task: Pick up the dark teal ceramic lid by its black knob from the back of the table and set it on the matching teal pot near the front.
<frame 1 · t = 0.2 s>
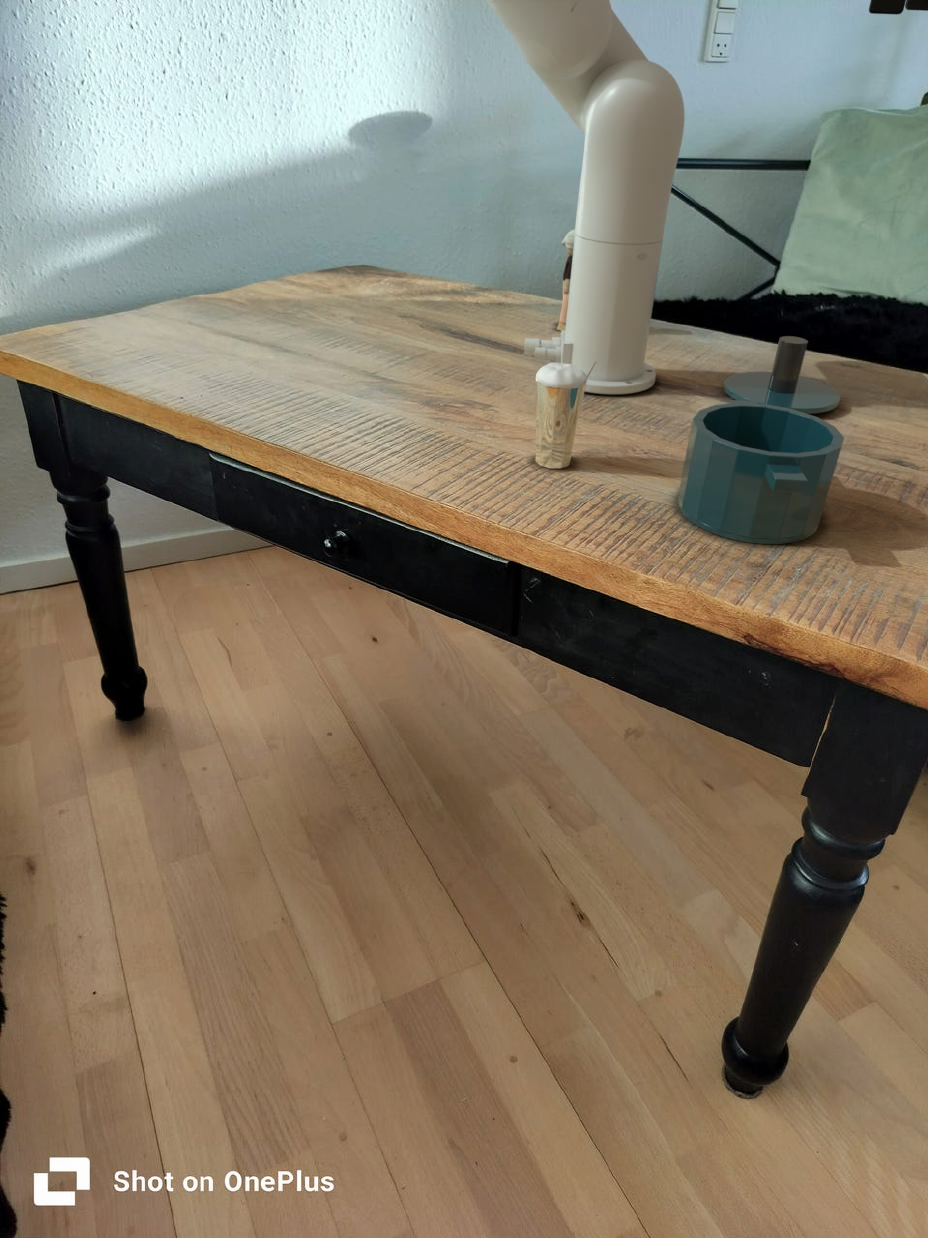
hand: (903, 11, 81), 36 cm above the table, tool pointing down, fingers open, 9 cm apart
milkshake: (556, 465, 81), on the table
pot: (747, 511, 74), on the table
grandmother figurine: (567, 328, 121), on the table
lid: (780, 394, 98), point 1 cm above the table
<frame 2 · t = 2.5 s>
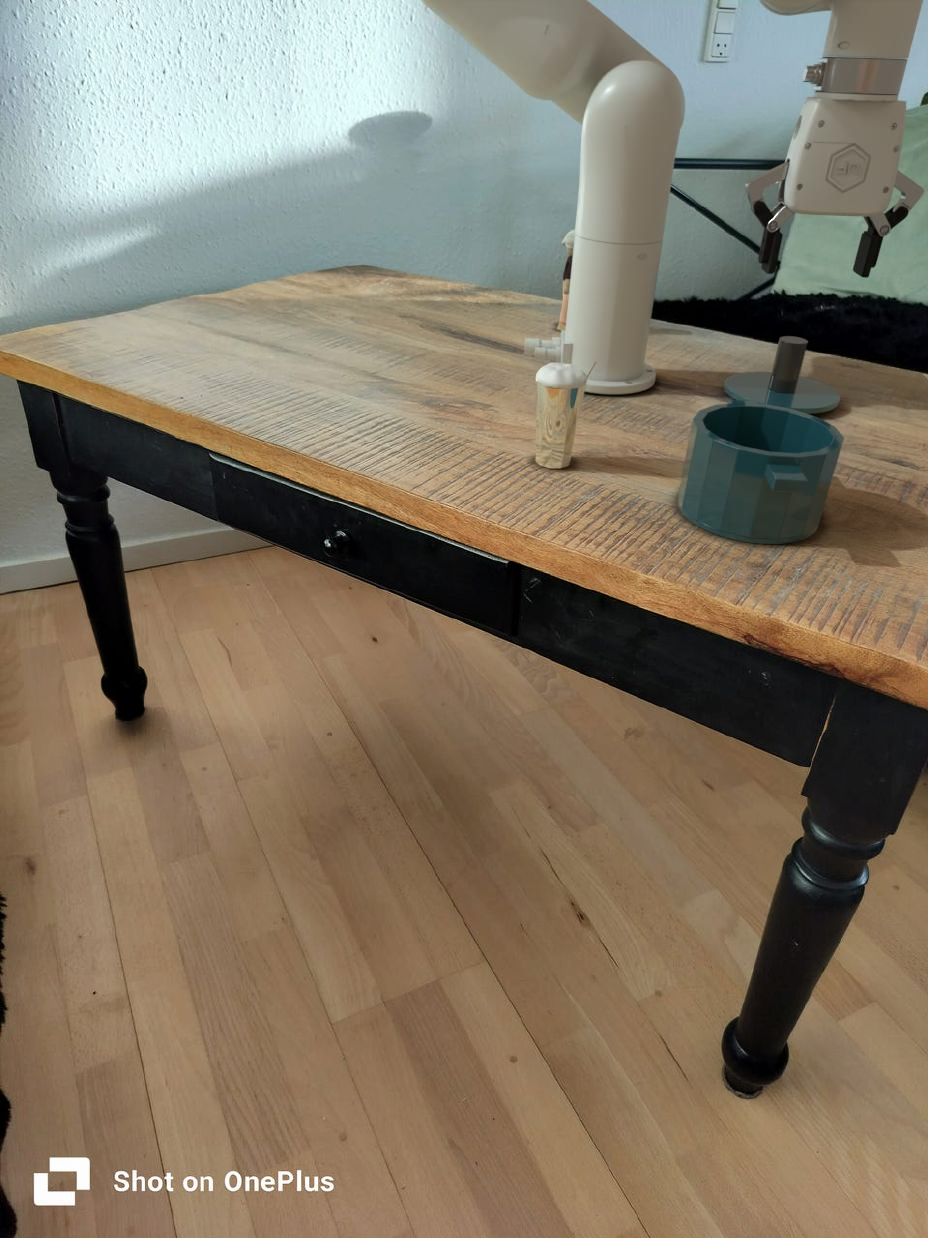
hand: (813, 272, 91), 14 cm above the table, tool pointing down, fingers open, 9 cm apart
nothing on the table moved.
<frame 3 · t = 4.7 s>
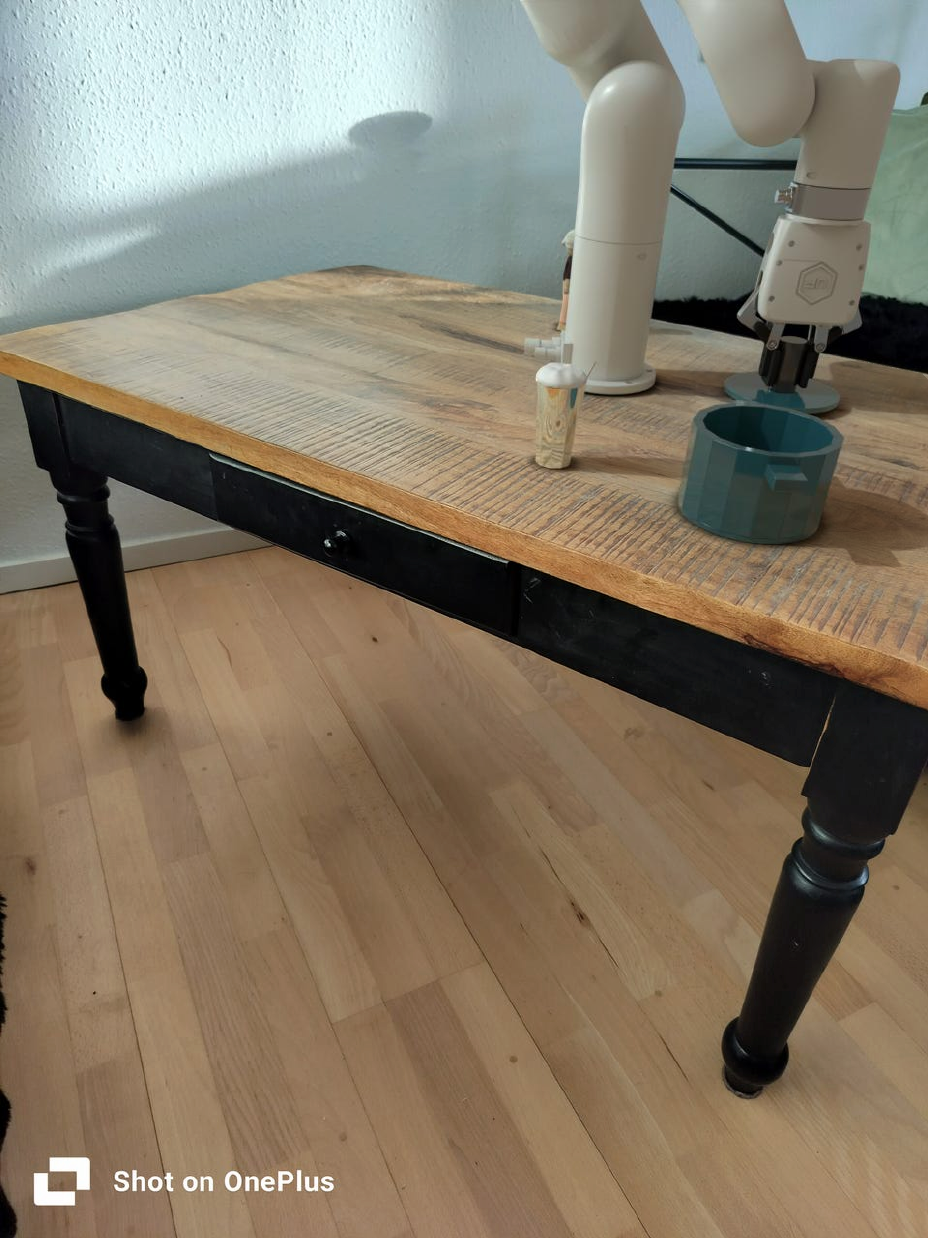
hand: (783, 381, 97), 2 cm above the table, tool pointing down, fingers closed on lid, 3 cm apart
lid: (780, 394, 98), point 1 cm above the table, touching gripper
everything else where it was.
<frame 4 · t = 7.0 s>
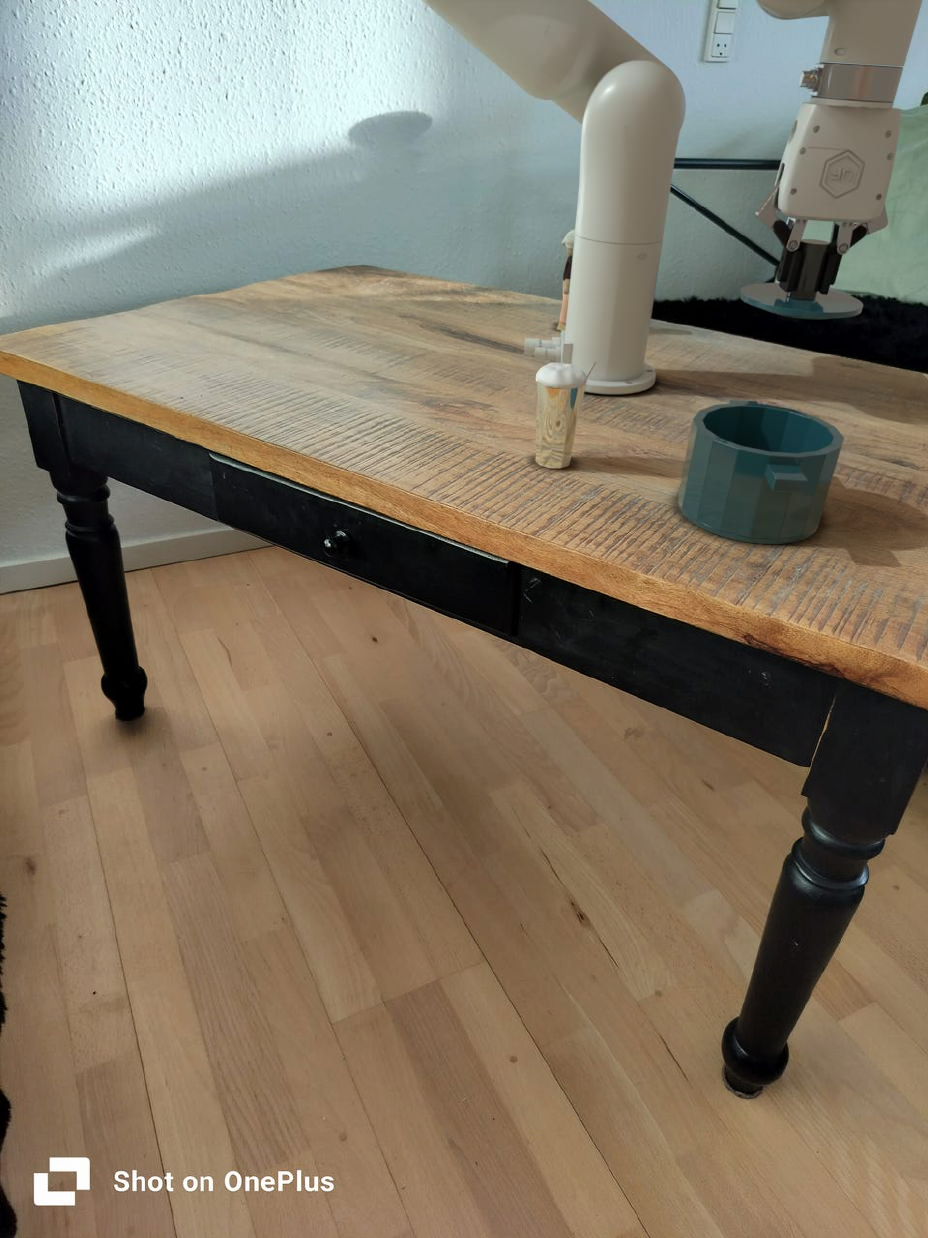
hand: (803, 288, 92), 12 cm above the table, tool pointing down, fingers closed on lid, 3 cm apart
lid: (799, 302, 93), point 11 cm above the table, touching gripper
everything else where it was.
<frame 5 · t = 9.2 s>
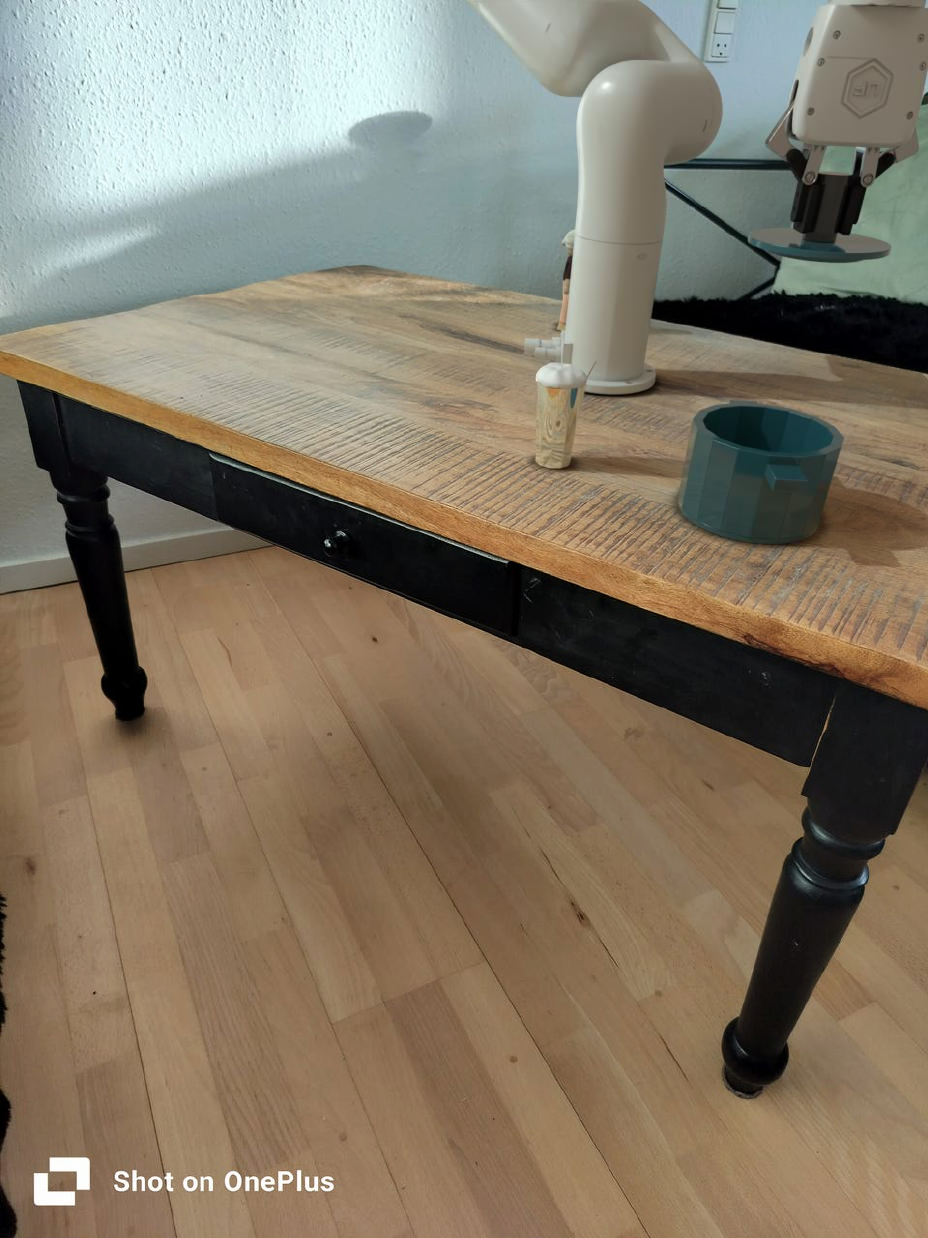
hand: (821, 229, 80), 19 cm above the table, tool pointing down, fingers closed on lid, 3 cm apart
lid: (817, 246, 81), point 18 cm above the table, touching gripper
everything else where it was.
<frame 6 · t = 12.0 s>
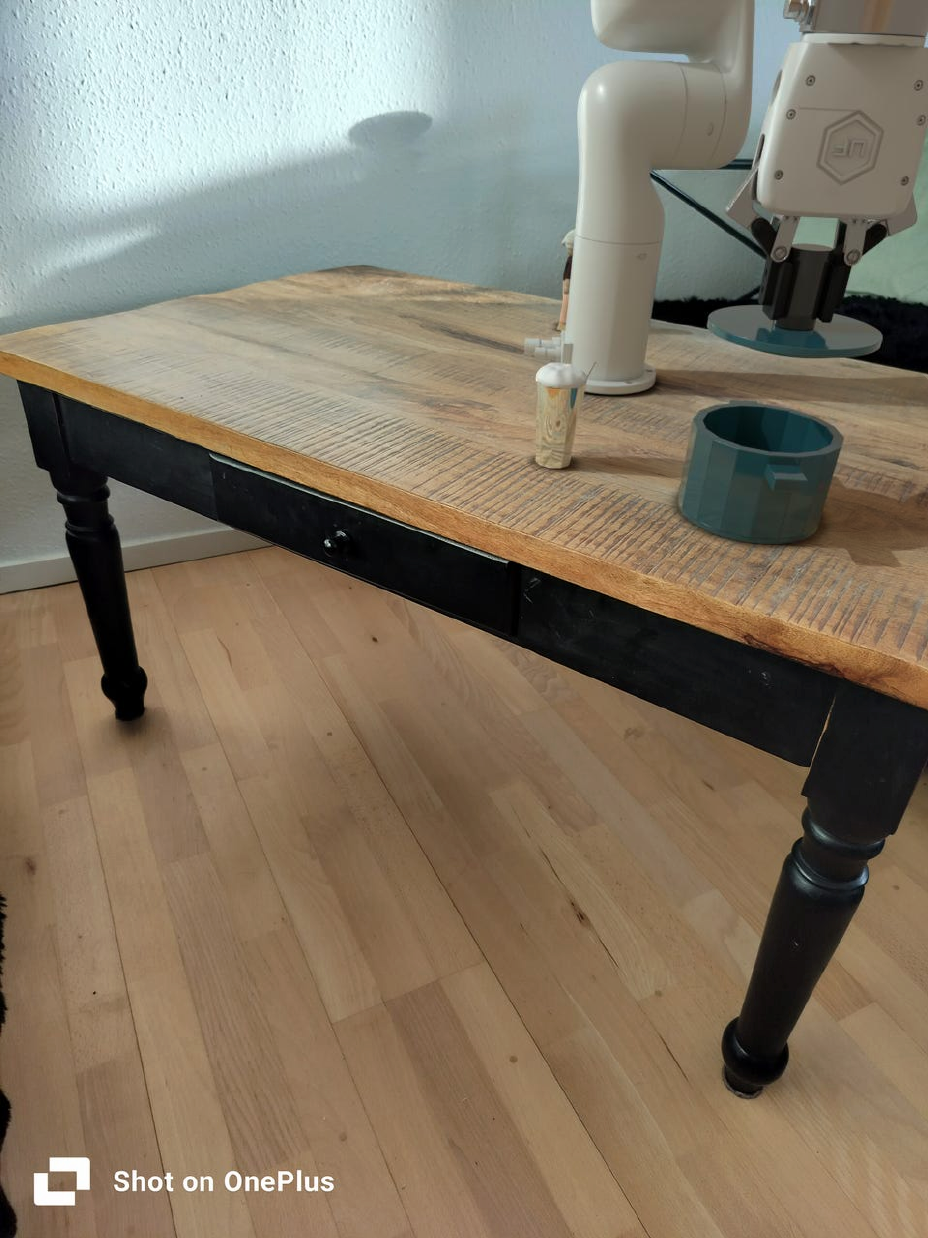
hand: (796, 314, 65), 16 cm above the table, tool pointing down, fingers closed on lid, 3 cm apart
lid: (791, 333, 65), point 15 cm above the table, touching gripper
everything else where it was.
when the fingers open (9 cm above the table, at t = 14.0 s): lid stays where it is, resting on pot.
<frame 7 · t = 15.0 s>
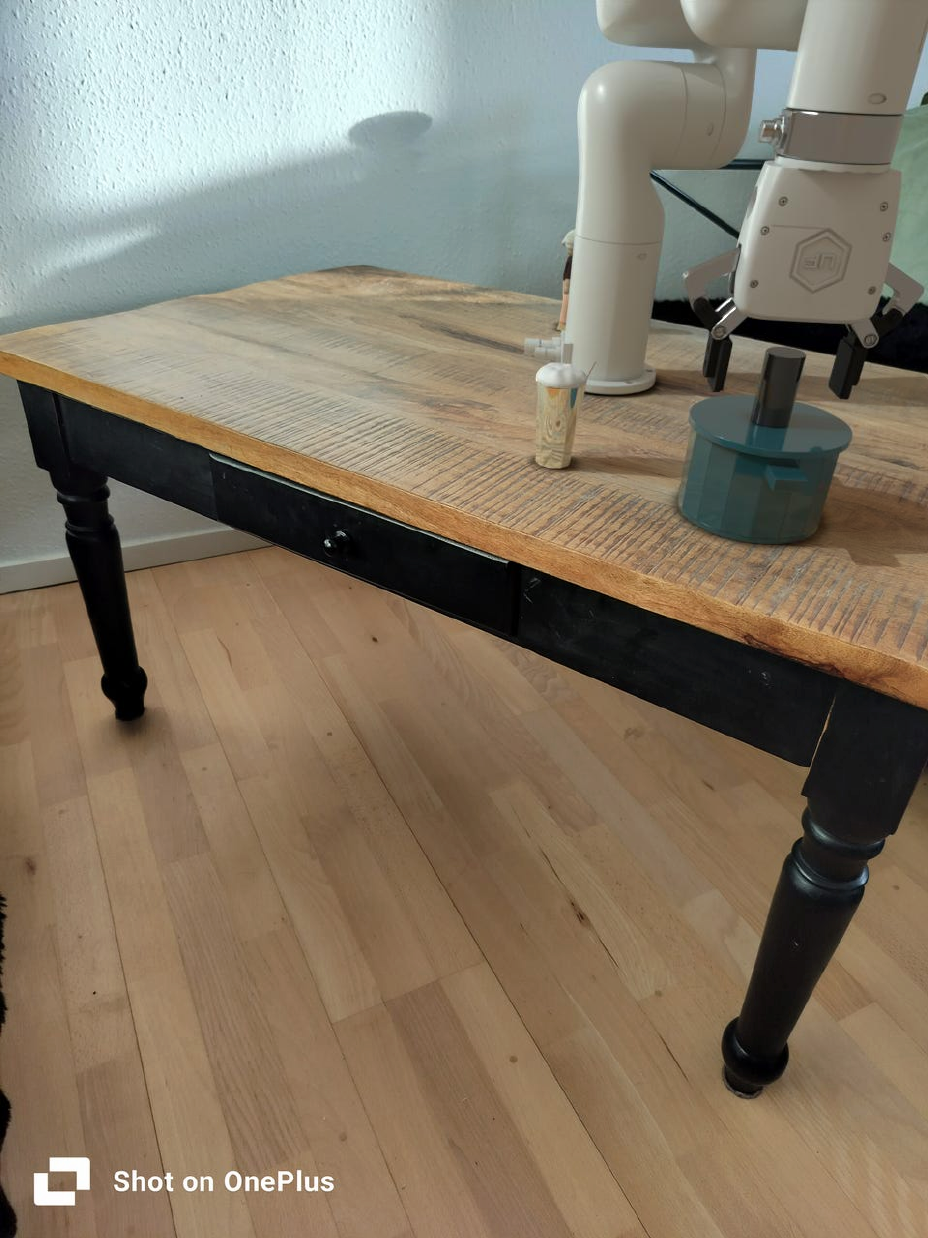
hand: (775, 390, 68), 11 cm above the table, tool pointing down, fingers open, 9 cm apart
lid: (767, 428, 70), point 7 cm above the table, touching pot
everything else where it was.
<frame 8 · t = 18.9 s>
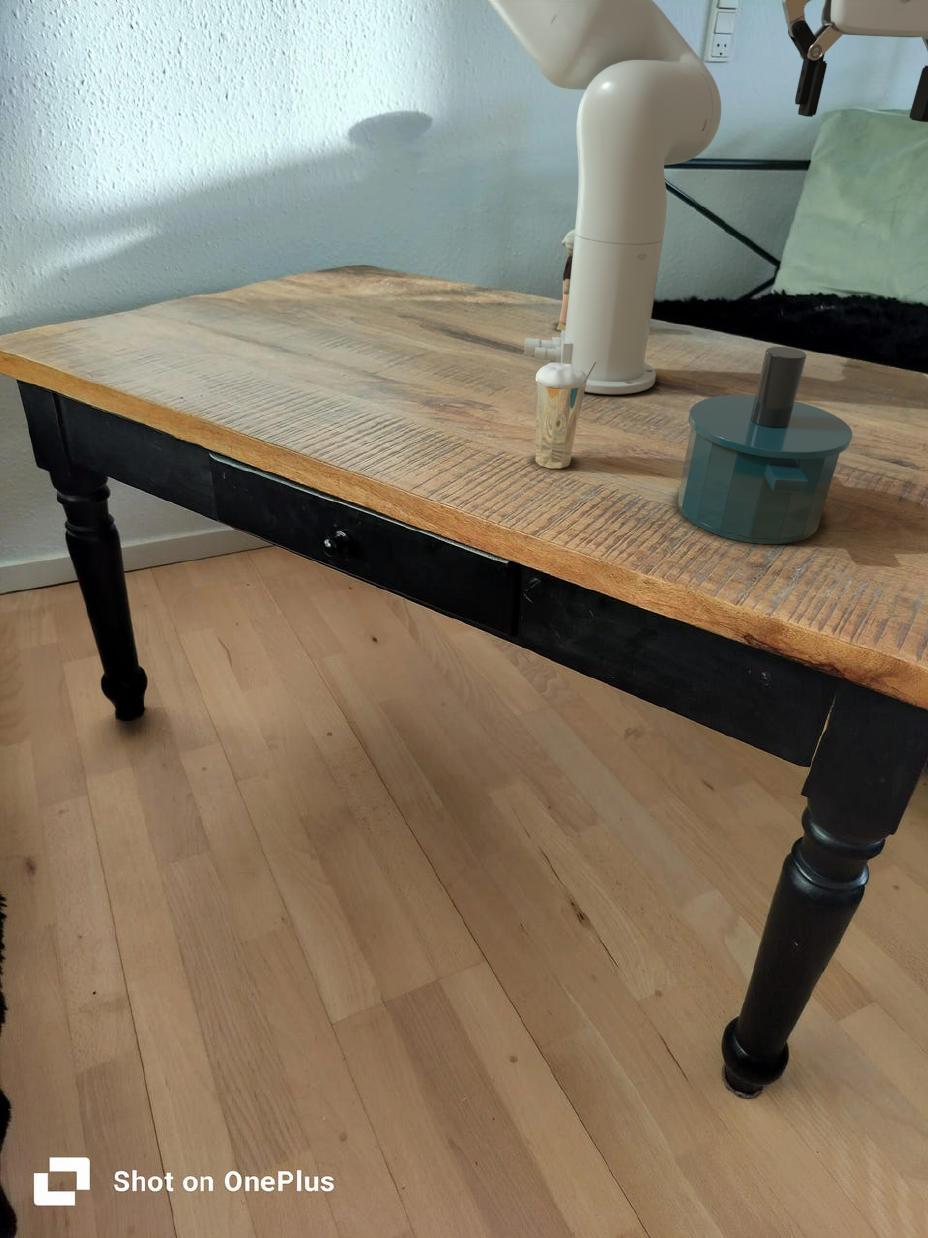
hand: (862, 117, 75), 28 cm above the table, tool pointing down, fingers open, 9 cm apart
nothing on the table moved.
at the end: lid 0.1 cm off-centre on the pot, point 7.5 cm above the pot's base; lid tilted 0° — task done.
